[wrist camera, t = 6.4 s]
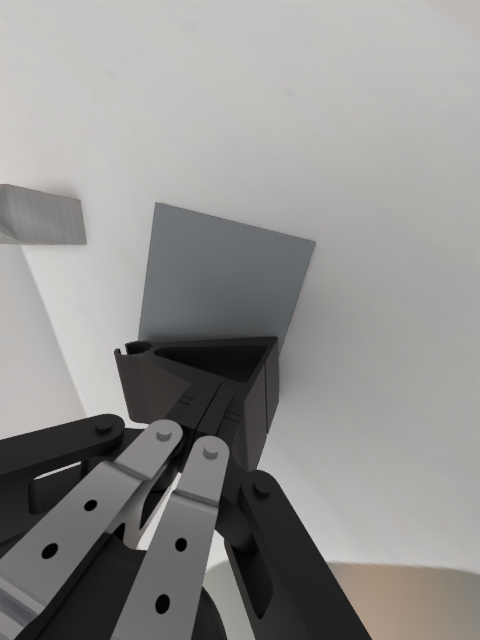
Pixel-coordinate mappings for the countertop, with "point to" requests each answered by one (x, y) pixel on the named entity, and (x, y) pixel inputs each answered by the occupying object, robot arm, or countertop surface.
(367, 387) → the countertop surface
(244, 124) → the countertop surface
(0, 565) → the robot arm
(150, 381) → the phone stand
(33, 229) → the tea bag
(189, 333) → the mat
